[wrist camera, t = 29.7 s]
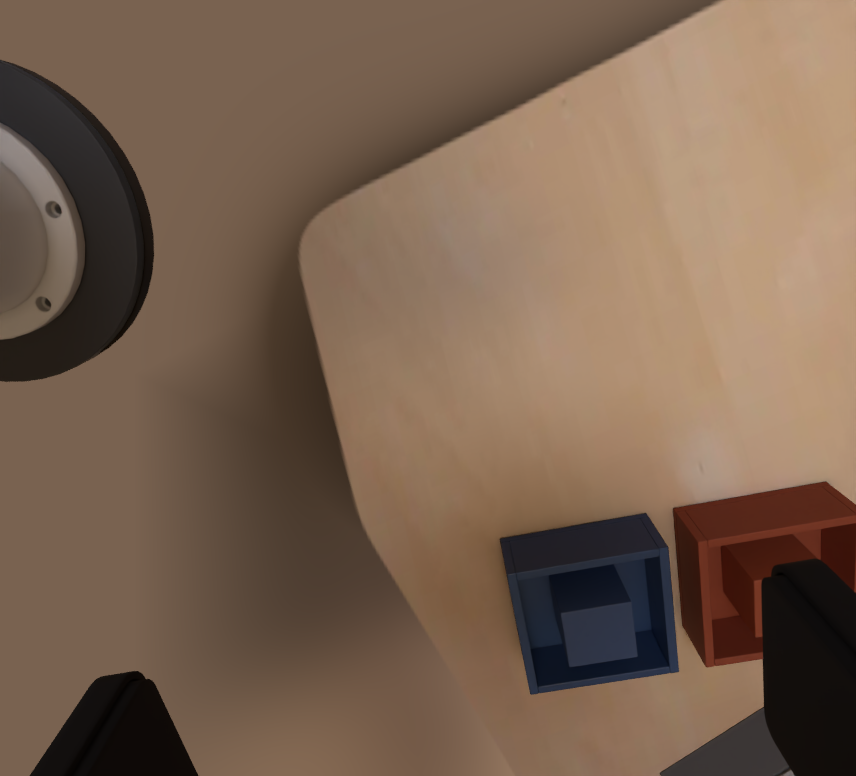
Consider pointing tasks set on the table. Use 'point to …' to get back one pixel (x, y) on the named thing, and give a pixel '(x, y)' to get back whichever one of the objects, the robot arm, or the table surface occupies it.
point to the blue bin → (581, 549)
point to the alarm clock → (736, 753)
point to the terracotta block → (756, 572)
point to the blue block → (593, 615)
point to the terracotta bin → (746, 521)
